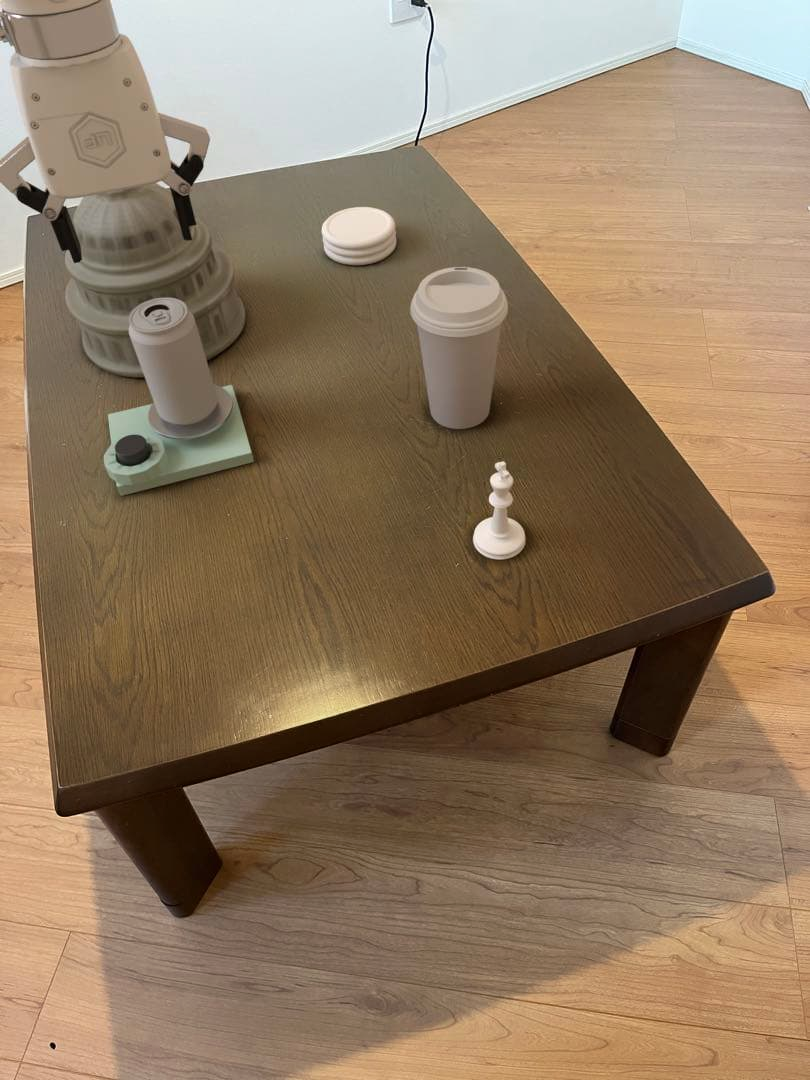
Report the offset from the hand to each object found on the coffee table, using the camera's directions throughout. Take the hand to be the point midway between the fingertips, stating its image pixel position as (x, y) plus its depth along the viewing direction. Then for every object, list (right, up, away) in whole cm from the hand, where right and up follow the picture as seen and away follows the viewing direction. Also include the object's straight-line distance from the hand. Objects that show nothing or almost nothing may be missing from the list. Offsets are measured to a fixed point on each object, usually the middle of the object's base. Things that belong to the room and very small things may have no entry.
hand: (132, 244), depth 74 cm
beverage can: (+1, -12, +15) cm, 19 cm away
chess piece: (+33, -26, +5) cm, 43 cm away
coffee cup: (+30, -12, +17) cm, 37 cm away
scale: (0, -16, +16) cm, 23 cm away
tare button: (-3, -18, +11) cm, 21 cm away
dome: (-6, 0, +31) cm, 31 cm away
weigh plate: (+1, -12, +15) cm, 20 cm away
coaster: (+18, +14, +41) cm, 47 cm away
